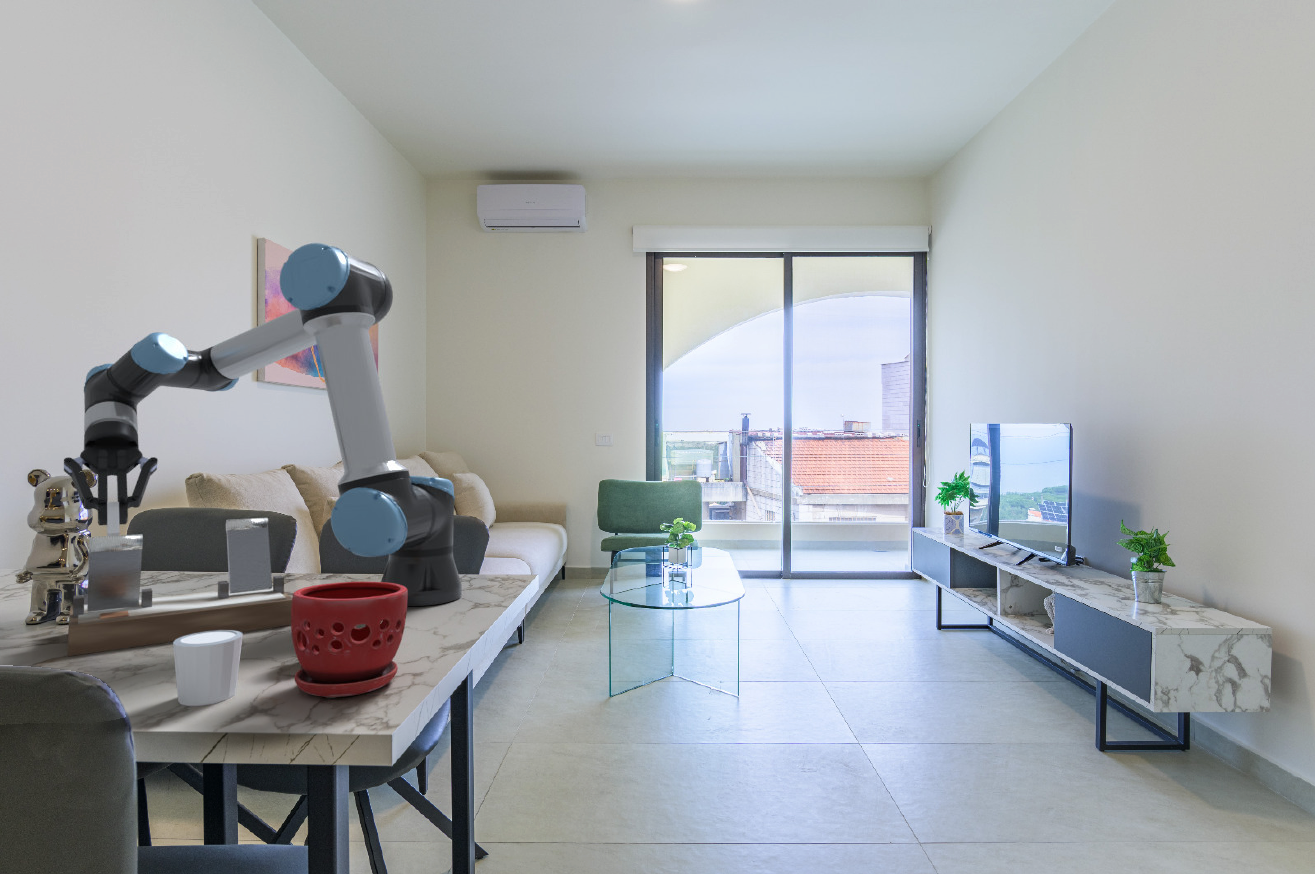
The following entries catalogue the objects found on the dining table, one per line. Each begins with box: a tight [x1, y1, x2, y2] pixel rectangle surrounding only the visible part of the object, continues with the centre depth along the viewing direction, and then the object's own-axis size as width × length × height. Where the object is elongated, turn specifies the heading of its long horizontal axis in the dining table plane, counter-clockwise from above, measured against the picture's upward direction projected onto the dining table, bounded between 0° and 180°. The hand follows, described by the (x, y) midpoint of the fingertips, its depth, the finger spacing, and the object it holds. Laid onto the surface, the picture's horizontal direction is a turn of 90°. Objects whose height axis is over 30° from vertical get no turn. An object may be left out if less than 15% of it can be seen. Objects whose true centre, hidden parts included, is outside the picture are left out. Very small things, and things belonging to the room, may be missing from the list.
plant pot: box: [290, 581, 408, 700], centre depth 86 cm, size 13×13×12 cm
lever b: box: [86, 533, 144, 612], centre depth 101 cm, size 2×6×12 cm, turn 129°
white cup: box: [172, 630, 244, 707], centre depth 81 cm, size 7×7×7 cm
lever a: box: [225, 517, 273, 594], centre depth 117 cm, size 2×6×12 cm, turn 130°
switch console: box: [67, 575, 293, 657], centre depth 109 cm, size 14×28×7 cm, turn 130°
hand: (113, 538), depth 110 cm, fingers closed
